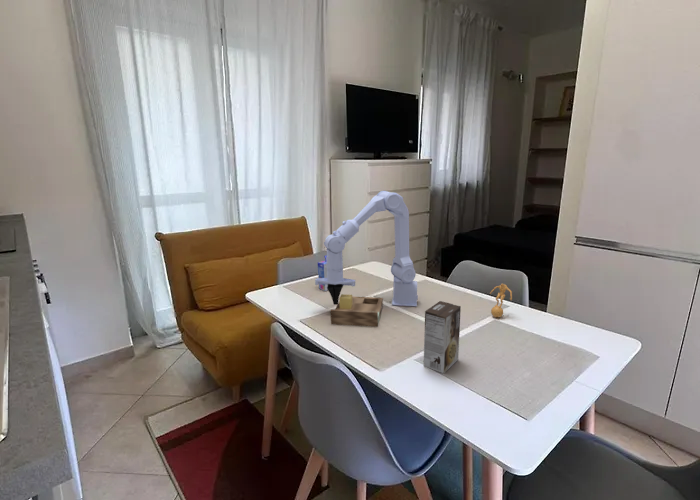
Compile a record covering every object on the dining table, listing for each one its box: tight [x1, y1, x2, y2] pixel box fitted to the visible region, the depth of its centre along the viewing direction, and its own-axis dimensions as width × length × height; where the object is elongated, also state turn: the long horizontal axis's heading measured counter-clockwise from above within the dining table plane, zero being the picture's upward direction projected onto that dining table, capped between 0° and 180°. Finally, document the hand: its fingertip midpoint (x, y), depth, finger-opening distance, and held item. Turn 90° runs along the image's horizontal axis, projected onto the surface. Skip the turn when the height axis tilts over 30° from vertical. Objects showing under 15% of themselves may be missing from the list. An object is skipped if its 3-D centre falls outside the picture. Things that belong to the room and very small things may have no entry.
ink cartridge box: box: [317, 254, 328, 292], centre depth 164 cm, size 10×6×14 cm, turn 129°
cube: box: [338, 293, 353, 309], centre depth 137 cm, size 4×4×4 cm
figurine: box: [489, 283, 513, 318], centre depth 131 cm, size 8×6×12 cm
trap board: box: [330, 295, 384, 328], centre depth 137 cm, size 16×21×5 cm
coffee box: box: [423, 300, 462, 374], centre depth 101 cm, size 9×6×16 cm
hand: (335, 303), depth 138 cm, fingers closed
